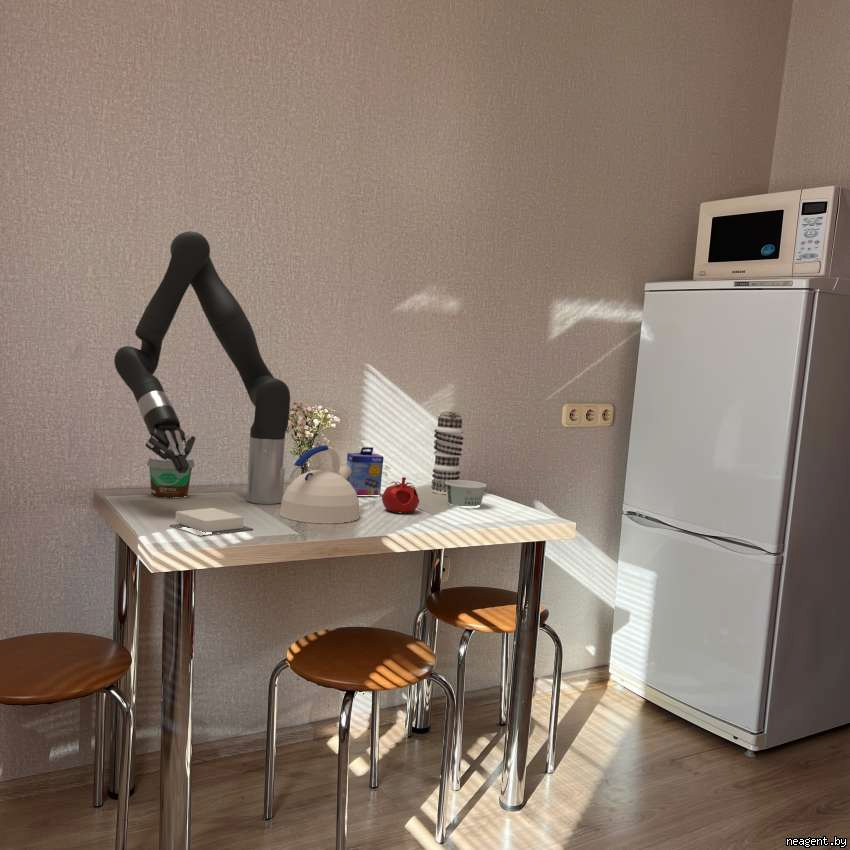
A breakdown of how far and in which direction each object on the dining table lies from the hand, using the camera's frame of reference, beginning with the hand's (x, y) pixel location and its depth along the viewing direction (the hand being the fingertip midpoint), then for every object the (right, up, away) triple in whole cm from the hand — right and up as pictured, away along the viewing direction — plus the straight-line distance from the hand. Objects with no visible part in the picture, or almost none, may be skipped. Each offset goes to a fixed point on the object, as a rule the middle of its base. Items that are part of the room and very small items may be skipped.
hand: (184, 471), depth 207 cm
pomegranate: (+50, -13, +30) cm, 59 cm away
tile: (+3, -10, -3) cm, 11 cm away
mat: (+8, -13, -8) cm, 17 cm away
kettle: (+30, -12, +16) cm, 36 cm away
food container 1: (-11, -8, +26) cm, 30 cm away
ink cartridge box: (+38, -10, +50) cm, 64 cm away
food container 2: (+68, -13, +46) cm, 83 cm away
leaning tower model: (+63, -10, +66) cm, 92 cm away
